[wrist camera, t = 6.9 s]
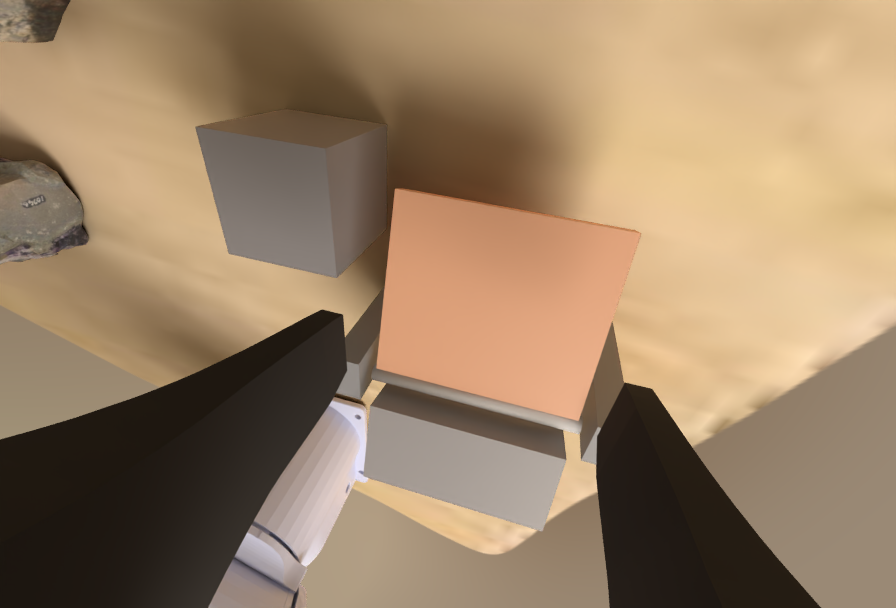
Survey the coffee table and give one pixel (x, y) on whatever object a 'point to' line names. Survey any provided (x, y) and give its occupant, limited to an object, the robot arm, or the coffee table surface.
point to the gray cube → (298, 187)
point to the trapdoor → (488, 349)
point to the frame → (595, 410)
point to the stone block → (30, 20)
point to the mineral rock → (36, 212)
